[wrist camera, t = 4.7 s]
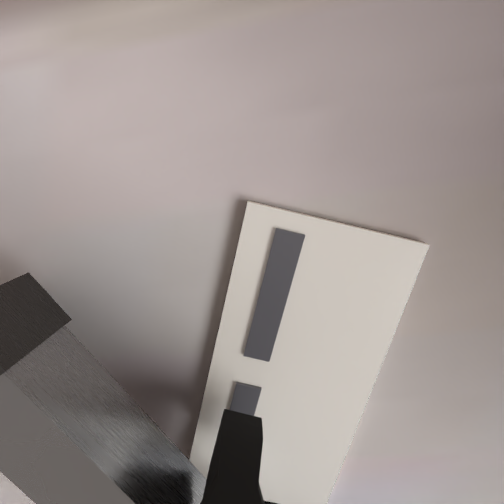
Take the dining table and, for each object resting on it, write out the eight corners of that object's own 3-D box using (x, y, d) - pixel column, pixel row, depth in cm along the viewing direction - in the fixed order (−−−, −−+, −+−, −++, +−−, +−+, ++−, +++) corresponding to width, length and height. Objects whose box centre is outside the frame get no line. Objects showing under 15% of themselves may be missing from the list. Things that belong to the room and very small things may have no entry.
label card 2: (366, 390, 10) (370, 399, 10) (213, 355, 10) (210, 363, 10) (424, 242, 9) (431, 245, 8) (248, 200, 9) (247, 201, 8)
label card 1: (321, 504, 11) (323, 516, 11) (186, 474, 11) (183, 485, 11) (366, 390, 10) (370, 399, 10) (213, 355, 10) (210, 363, 10)
